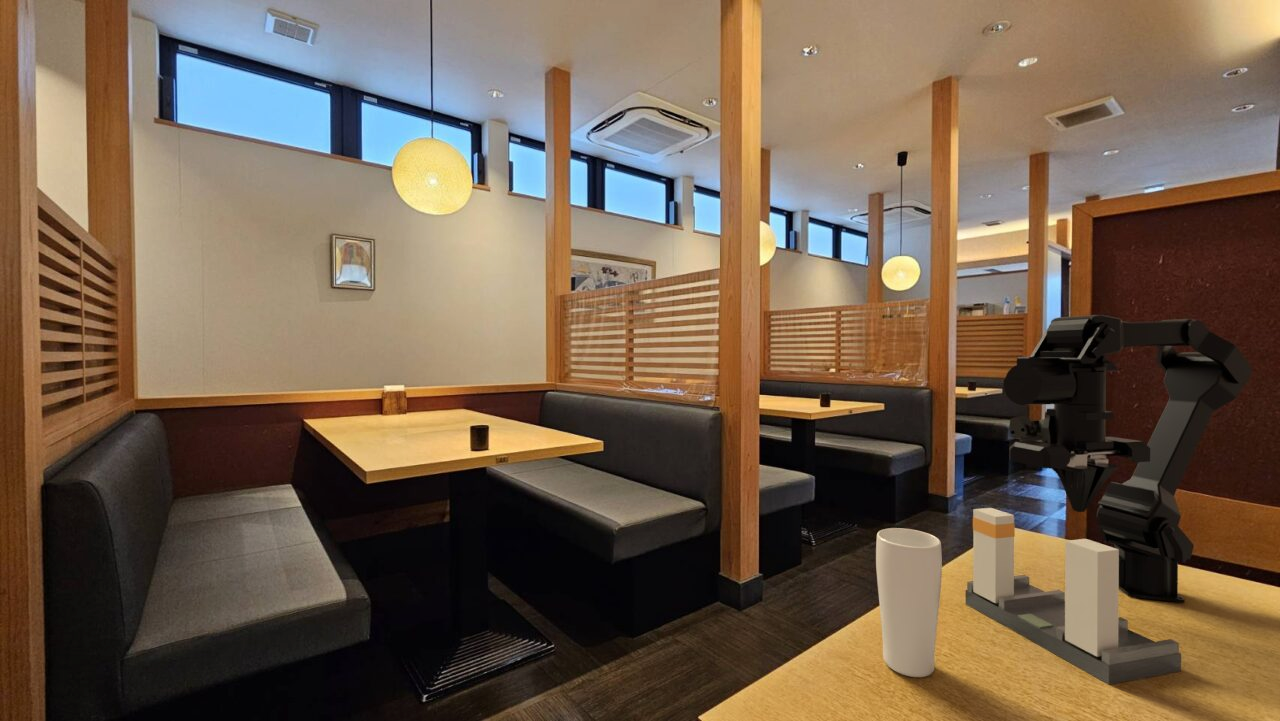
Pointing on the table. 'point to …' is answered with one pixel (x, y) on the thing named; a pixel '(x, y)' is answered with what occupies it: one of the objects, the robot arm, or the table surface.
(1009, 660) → the table surface
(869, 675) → the table surface
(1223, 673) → the table surface
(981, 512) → the lever
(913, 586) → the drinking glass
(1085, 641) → the on lever
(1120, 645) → the box
